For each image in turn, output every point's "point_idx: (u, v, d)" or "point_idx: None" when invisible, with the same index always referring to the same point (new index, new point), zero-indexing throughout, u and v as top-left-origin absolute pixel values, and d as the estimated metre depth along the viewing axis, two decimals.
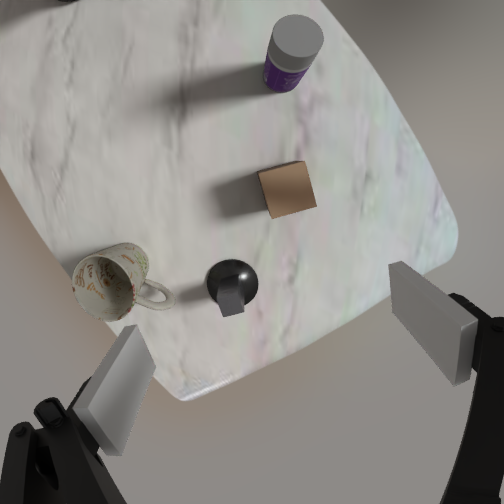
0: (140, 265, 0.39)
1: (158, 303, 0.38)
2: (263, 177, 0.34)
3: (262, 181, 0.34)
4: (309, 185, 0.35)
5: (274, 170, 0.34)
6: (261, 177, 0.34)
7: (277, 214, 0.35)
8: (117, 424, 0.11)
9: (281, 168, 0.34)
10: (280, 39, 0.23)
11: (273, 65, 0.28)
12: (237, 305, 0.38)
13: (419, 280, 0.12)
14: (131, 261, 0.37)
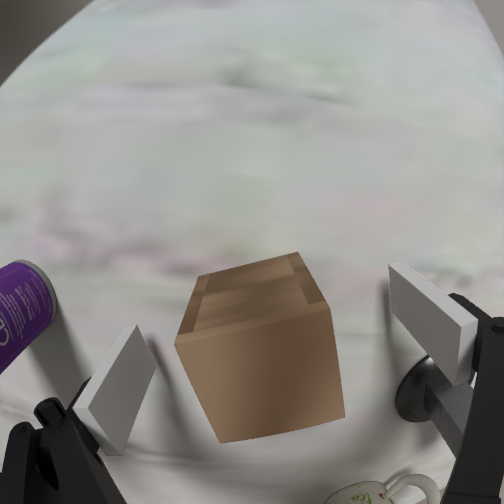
0: None
1: None
2: (230, 436, 0.11)
3: (241, 437, 0.12)
4: (255, 333, 0.10)
5: (210, 416, 0.11)
6: (230, 439, 0.12)
7: (336, 407, 0.11)
8: (117, 424, 0.11)
9: (203, 401, 0.11)
10: None
11: None
12: None
13: (419, 280, 0.12)
14: None
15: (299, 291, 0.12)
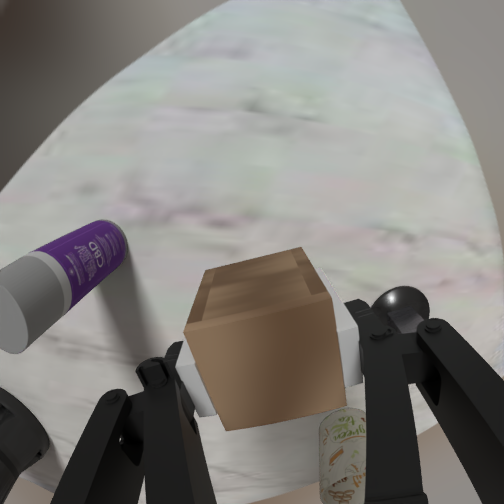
0: (348, 435, 0.28)
1: None
2: (235, 423, 0.12)
3: (246, 425, 0.12)
4: (261, 321, 0.11)
5: (216, 403, 0.12)
6: (235, 426, 0.12)
7: (338, 395, 0.12)
8: None
9: (210, 389, 0.12)
10: (12, 345, 0.13)
11: (67, 311, 0.18)
12: None
13: (325, 286, 0.15)
14: (340, 453, 0.26)
15: (303, 283, 0.12)
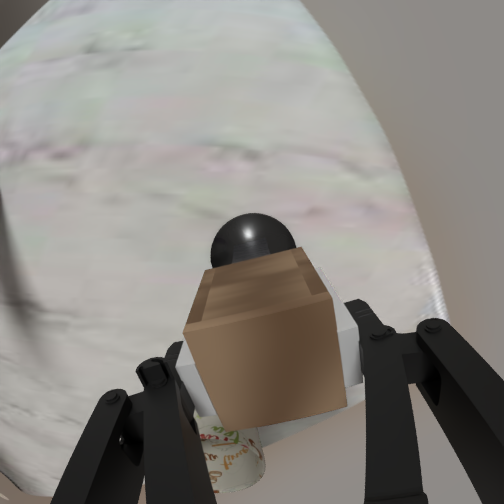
0: None
1: None
2: (235, 424, 0.12)
3: (246, 426, 0.12)
4: (261, 321, 0.11)
5: (216, 404, 0.12)
6: (235, 427, 0.12)
7: (338, 396, 0.12)
8: None
9: (209, 389, 0.11)
10: None
11: None
12: None
13: None
14: None
15: (303, 283, 0.12)
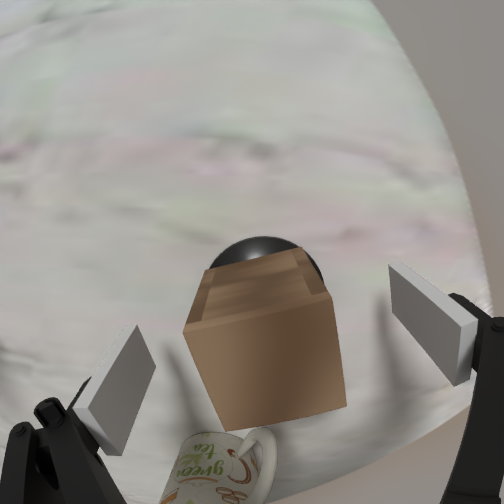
0: (193, 474, 0.17)
1: (256, 487, 0.14)
2: (235, 424, 0.12)
3: (245, 425, 0.12)
4: (261, 321, 0.11)
5: (216, 403, 0.12)
6: (235, 427, 0.12)
7: (338, 396, 0.12)
8: (117, 424, 0.11)
9: (209, 389, 0.12)
10: None
11: None
12: None
13: (419, 280, 0.12)
14: (171, 498, 0.15)
15: (302, 283, 0.12)
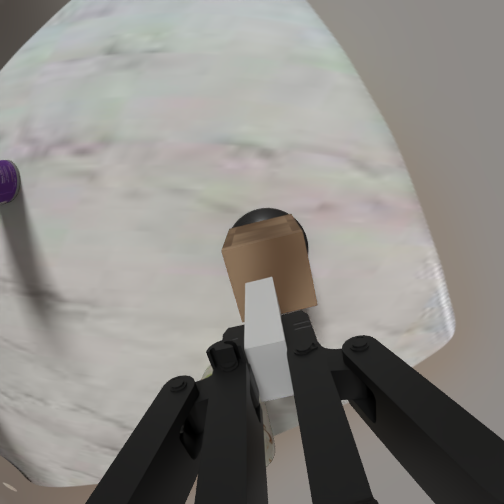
0: None
1: None
2: None
3: None
4: (264, 243, 0.20)
5: (237, 299, 0.21)
6: None
7: (311, 296, 0.21)
8: None
9: (234, 288, 0.21)
10: None
11: None
12: None
13: (269, 297, 0.15)
14: None
15: (288, 227, 0.22)
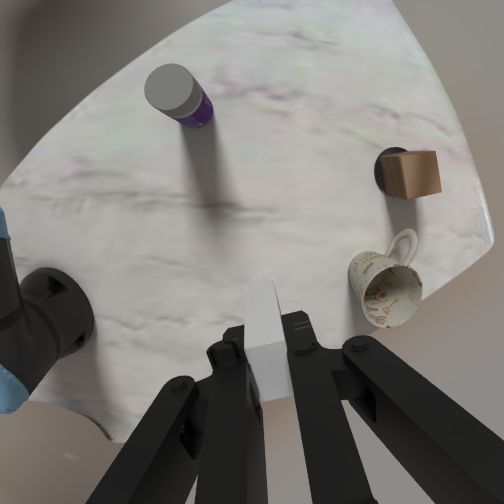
0: (373, 257, 0.40)
1: (411, 244, 0.37)
2: (411, 195, 0.35)
3: (414, 196, 0.35)
4: (419, 155, 0.33)
5: (406, 185, 0.34)
6: (411, 197, 0.35)
7: (439, 186, 0.34)
8: None
9: (405, 178, 0.34)
10: (173, 102, 0.25)
11: (194, 112, 0.30)
12: None
13: (269, 297, 0.15)
14: (370, 265, 0.38)
15: (423, 151, 0.35)
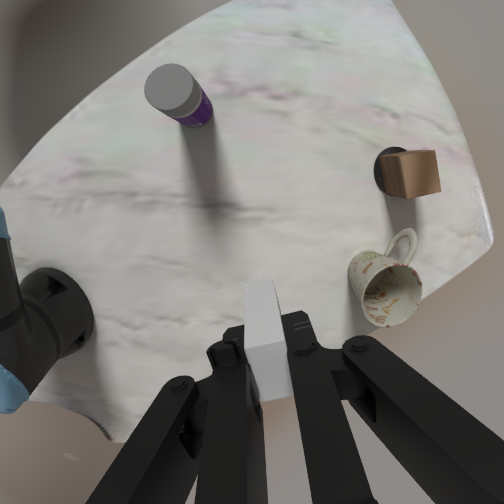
0: (373, 257, 0.40)
1: (411, 243, 0.37)
2: (410, 195, 0.35)
3: (413, 196, 0.35)
4: (419, 154, 0.33)
5: (406, 184, 0.35)
6: (410, 197, 0.35)
7: (438, 186, 0.35)
8: None
9: (405, 178, 0.34)
10: (173, 102, 0.25)
11: (193, 112, 0.30)
12: None
13: (269, 297, 0.15)
14: (370, 264, 0.38)
15: (423, 151, 0.35)
